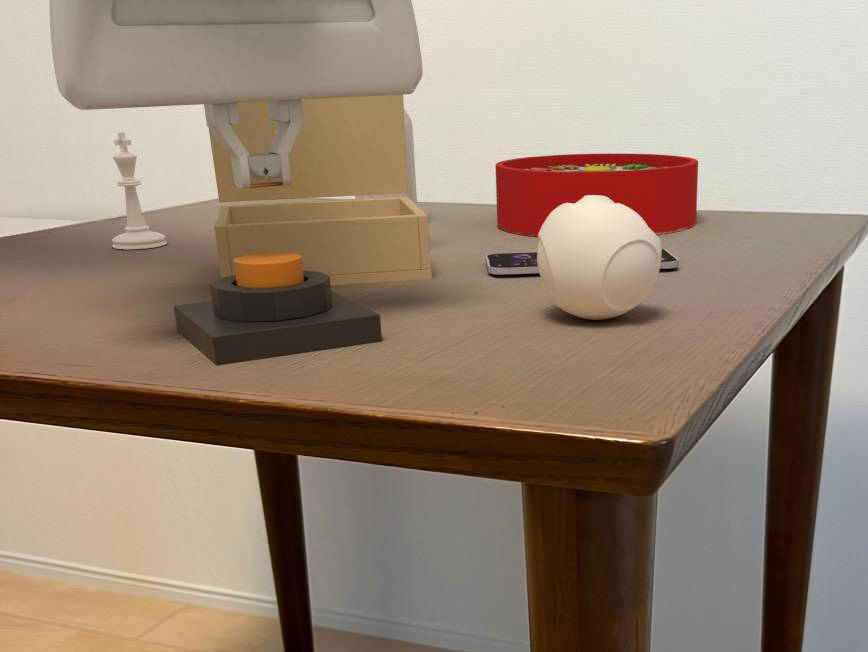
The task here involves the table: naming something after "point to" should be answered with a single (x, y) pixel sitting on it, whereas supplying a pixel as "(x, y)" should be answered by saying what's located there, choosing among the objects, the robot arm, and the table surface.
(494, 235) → the table surface
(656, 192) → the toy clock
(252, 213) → the open wooden box
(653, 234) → the motion sensor
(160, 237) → the chess piece
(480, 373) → the table surface
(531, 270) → the smartphone
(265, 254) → the button
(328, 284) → the block
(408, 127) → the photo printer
